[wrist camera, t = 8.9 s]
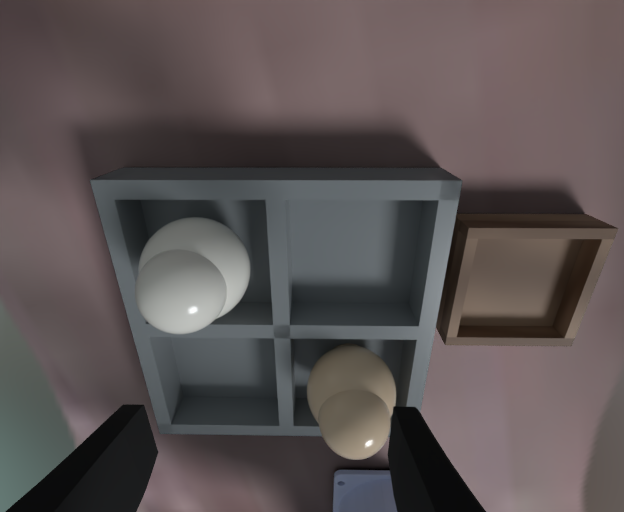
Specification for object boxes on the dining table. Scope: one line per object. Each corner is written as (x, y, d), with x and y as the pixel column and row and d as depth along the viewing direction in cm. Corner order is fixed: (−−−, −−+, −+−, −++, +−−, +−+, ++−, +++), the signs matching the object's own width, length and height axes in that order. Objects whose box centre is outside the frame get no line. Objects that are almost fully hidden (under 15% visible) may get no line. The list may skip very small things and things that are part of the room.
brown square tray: (547, 322, 19) (571, 346, 18) (433, 321, 20) (445, 344, 18) (585, 214, 17) (618, 228, 15) (452, 213, 17) (468, 228, 15)
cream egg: (261, 288, 18) (237, 366, 13) (174, 288, 18) (117, 365, 13) (254, 203, 16) (223, 255, 11) (157, 203, 16) (81, 255, 11)
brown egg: (383, 389, 21) (405, 485, 16) (308, 388, 21) (304, 484, 16) (391, 327, 19) (417, 414, 14) (307, 327, 19) (303, 413, 14)
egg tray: (405, 401, 22) (415, 437, 20) (176, 398, 22) (160, 433, 20) (441, 167, 16) (462, 180, 14) (123, 167, 16) (89, 179, 14)
